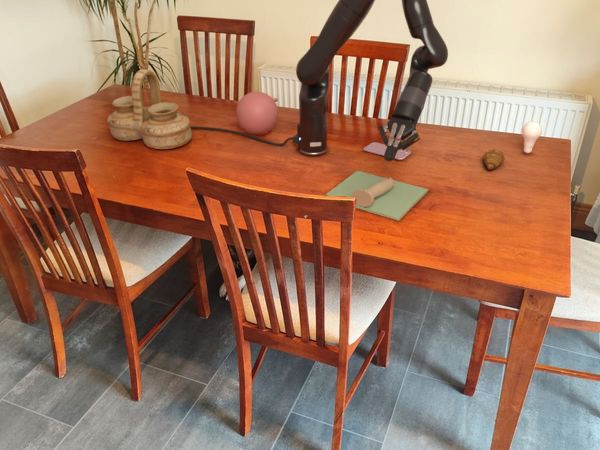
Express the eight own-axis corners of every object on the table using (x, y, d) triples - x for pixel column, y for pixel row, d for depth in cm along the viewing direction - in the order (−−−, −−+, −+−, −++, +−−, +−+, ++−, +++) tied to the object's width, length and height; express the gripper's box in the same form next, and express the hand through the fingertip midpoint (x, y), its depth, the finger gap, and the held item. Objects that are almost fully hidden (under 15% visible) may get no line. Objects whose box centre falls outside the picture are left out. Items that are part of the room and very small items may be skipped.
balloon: (295, 127, 208) (294, 87, 200) (260, 144, 194) (257, 102, 186) (264, 119, 216) (262, 80, 208) (229, 135, 203) (225, 94, 195)
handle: (381, 173, 164) (351, 188, 153) (400, 175, 159) (371, 191, 149) (382, 188, 165) (353, 204, 155) (401, 191, 161) (372, 208, 151)
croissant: (500, 173, 171) (503, 159, 169) (478, 170, 174) (480, 155, 171) (506, 157, 182) (509, 143, 179) (485, 153, 184) (488, 140, 181)
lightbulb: (536, 150, 186) (543, 119, 180) (536, 157, 181) (544, 126, 175) (517, 148, 187) (523, 117, 182) (517, 155, 182) (523, 124, 177)
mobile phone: (373, 140, 193) (412, 150, 185) (373, 143, 193) (412, 153, 185) (362, 148, 187) (401, 158, 180) (362, 150, 188) (401, 161, 180)
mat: (323, 198, 160) (323, 195, 160) (357, 172, 174) (357, 170, 174) (398, 221, 148) (398, 218, 148) (428, 191, 162) (428, 189, 162)
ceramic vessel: (98, 139, 202) (83, 71, 189) (134, 122, 216) (122, 58, 203) (169, 156, 187) (158, 84, 174) (203, 137, 201) (195, 69, 188)
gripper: (385, 95, 158) (363, 149, 156) (428, 103, 152) (406, 160, 150) (392, 108, 165) (371, 160, 163) (434, 116, 158) (412, 170, 156)
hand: (387, 160), depth 156 cm, fingers closed
